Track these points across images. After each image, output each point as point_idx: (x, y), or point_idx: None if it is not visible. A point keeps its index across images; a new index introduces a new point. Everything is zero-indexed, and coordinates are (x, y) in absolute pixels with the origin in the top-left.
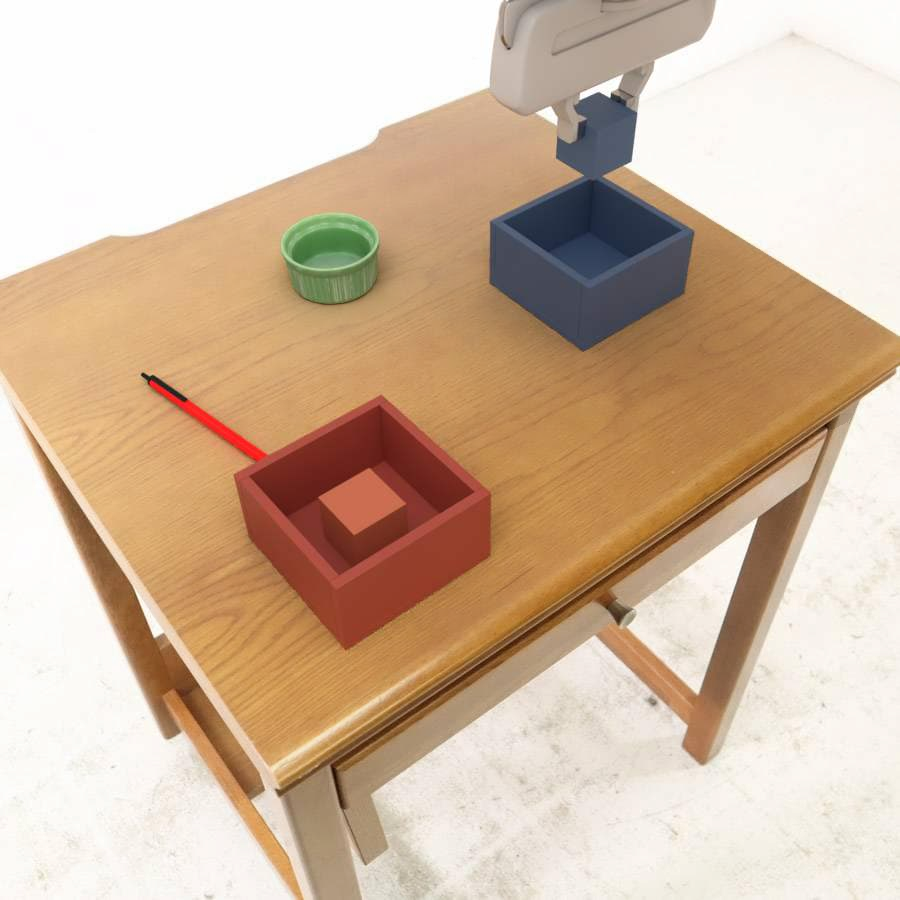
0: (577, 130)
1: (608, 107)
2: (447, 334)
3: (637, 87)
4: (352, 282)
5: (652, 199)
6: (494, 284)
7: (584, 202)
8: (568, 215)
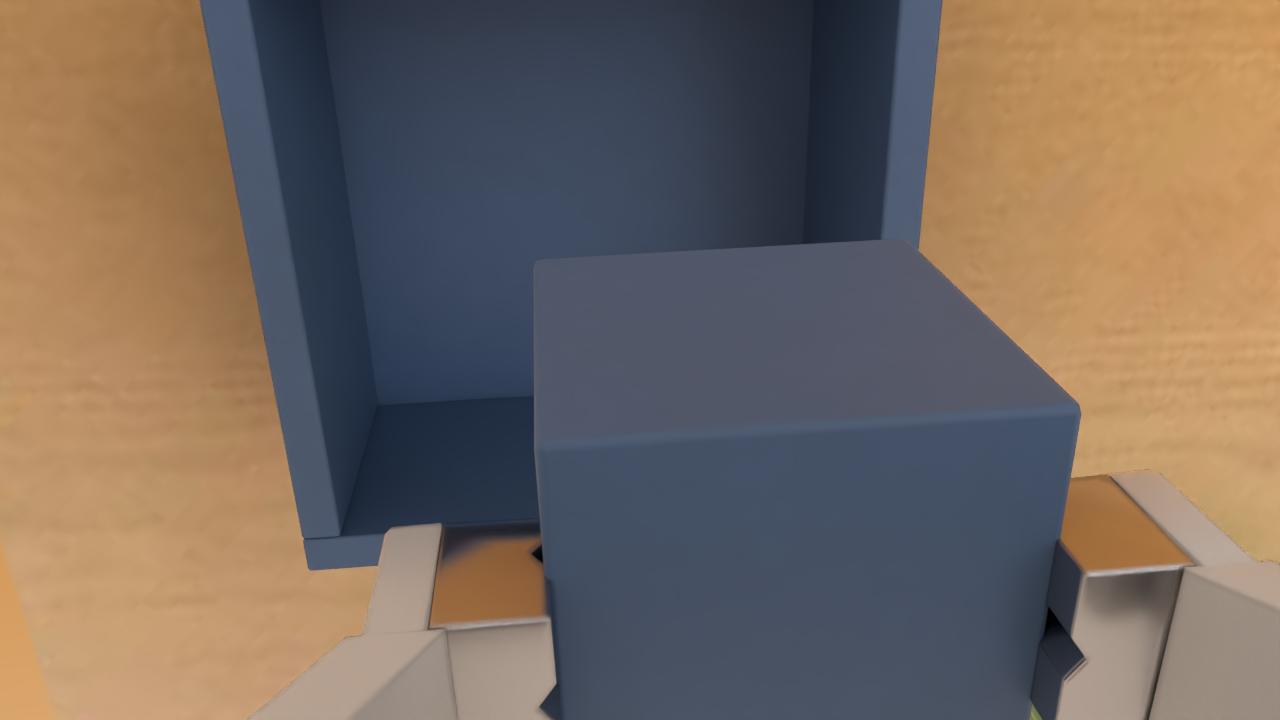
0: (1152, 519)
1: (694, 641)
2: (1094, 264)
3: (387, 700)
4: None
5: (12, 441)
6: None
7: (398, 476)
8: (485, 458)
